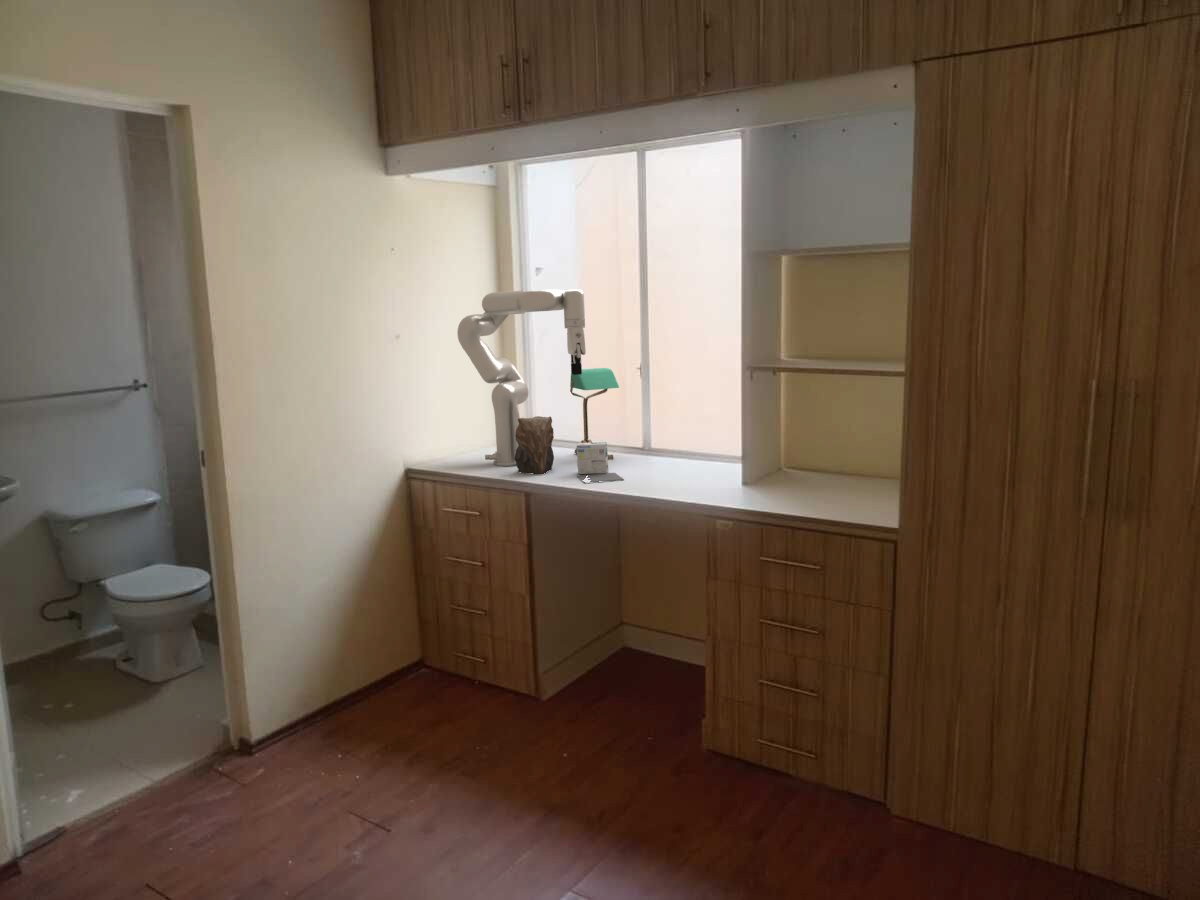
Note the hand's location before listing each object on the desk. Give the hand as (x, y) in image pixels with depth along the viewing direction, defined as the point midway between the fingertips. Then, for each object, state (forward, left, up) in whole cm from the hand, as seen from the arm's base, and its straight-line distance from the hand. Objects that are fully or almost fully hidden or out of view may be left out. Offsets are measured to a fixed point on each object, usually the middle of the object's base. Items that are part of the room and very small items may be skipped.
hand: (576, 373), depth 320 cm
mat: (+2, -23, -35) cm, 42 cm away
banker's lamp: (+10, +18, -35) cm, 41 cm away
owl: (-17, -2, -35) cm, 39 cm away
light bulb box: (+2, -13, -35) cm, 38 cm away
